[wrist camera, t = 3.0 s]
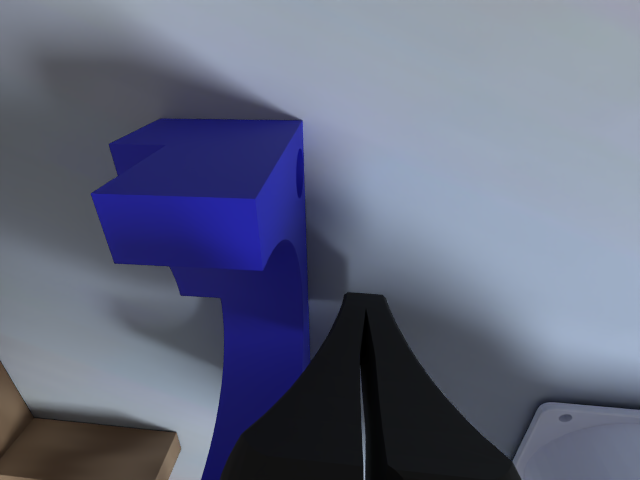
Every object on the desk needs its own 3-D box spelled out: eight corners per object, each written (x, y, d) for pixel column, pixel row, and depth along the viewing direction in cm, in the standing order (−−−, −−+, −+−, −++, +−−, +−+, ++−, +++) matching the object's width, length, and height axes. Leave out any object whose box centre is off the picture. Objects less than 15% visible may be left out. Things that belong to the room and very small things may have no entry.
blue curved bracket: (163, 117, 12) (13, 190, 7) (303, 118, 12) (255, 199, 6) (218, 374, 18) (160, 516, 13) (311, 381, 18) (290, 531, 13)
